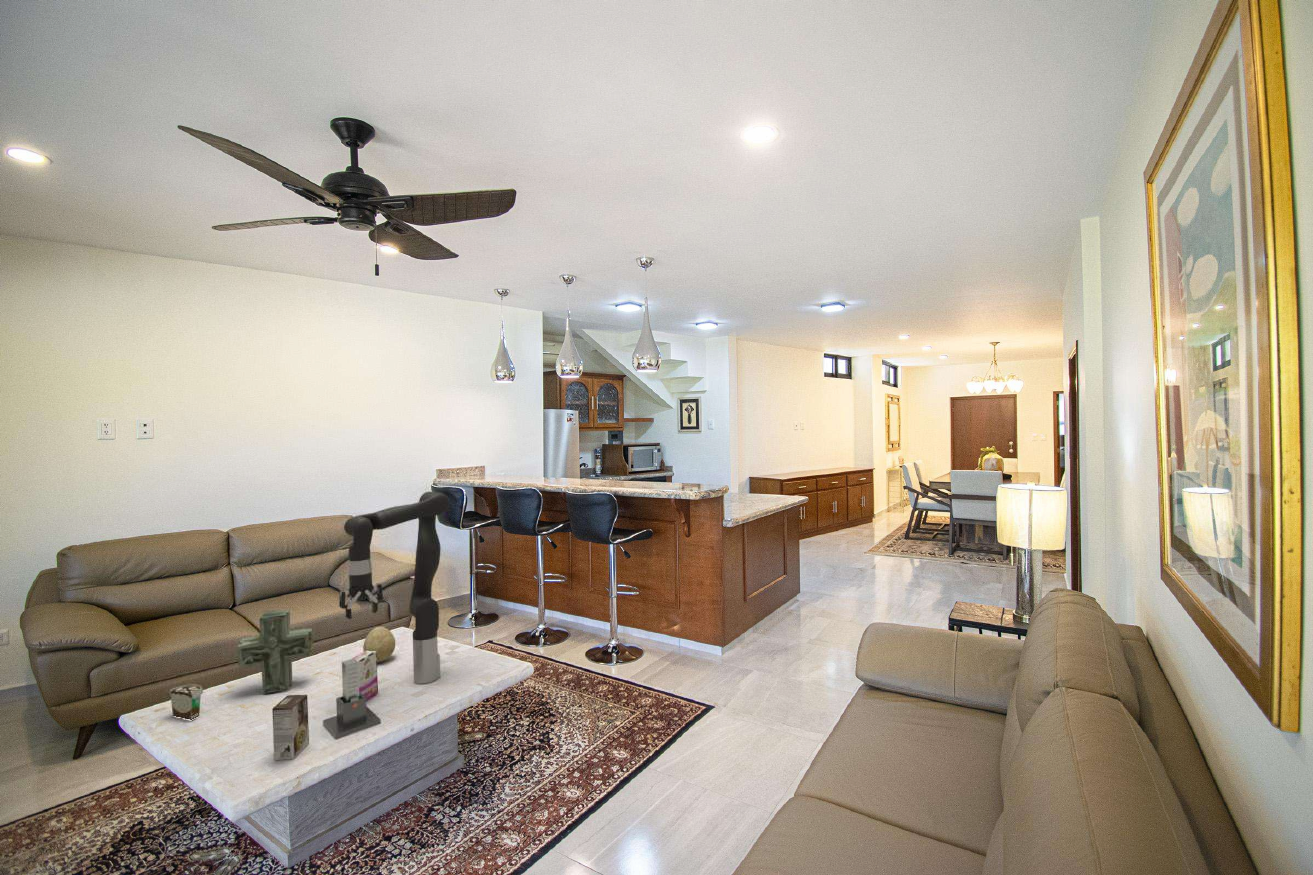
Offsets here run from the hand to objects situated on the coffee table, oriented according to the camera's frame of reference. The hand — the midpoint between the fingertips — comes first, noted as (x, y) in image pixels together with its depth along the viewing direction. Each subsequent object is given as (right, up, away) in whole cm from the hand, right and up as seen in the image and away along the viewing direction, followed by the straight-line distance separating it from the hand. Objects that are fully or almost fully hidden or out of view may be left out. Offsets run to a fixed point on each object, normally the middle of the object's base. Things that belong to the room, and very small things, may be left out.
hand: (362, 615), depth 213 cm
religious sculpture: (-41, -34, +16) cm, 55 cm away
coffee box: (-7, -34, -31) cm, 46 cm away
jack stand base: (+3, -33, -14) cm, 36 cm away
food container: (-59, -34, -5) cm, 68 cm away
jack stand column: (+3, -27, -14) cm, 30 cm away
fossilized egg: (-13, -33, +42) cm, 55 cm away
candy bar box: (-2, -33, +5) cm, 34 cm away
